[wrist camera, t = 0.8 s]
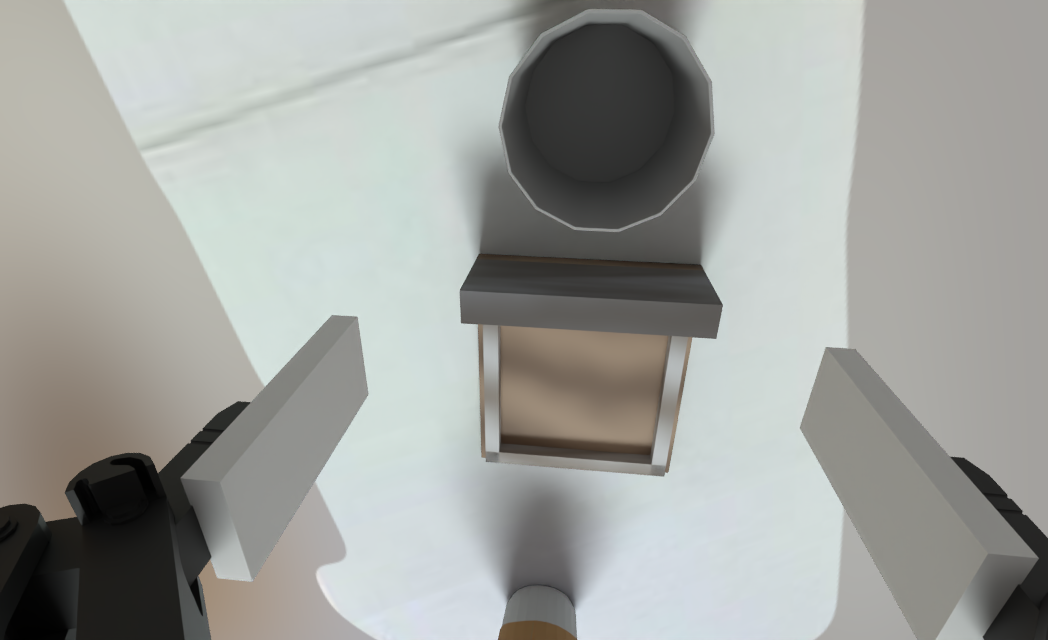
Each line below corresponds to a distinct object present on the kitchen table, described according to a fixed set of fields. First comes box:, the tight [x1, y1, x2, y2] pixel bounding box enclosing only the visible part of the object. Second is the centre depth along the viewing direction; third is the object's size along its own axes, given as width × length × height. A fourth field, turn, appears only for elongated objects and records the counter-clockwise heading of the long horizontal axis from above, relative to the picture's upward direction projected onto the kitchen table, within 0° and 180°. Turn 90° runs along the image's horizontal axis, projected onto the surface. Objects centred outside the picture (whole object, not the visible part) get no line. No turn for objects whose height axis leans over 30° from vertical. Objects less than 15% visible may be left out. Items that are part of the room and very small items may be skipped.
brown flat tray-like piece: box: [460, 254, 723, 476], centre depth 35 cm, size 16×14×6 cm
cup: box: [499, 9, 714, 232], centre depth 26 cm, size 8×8×10 cm
